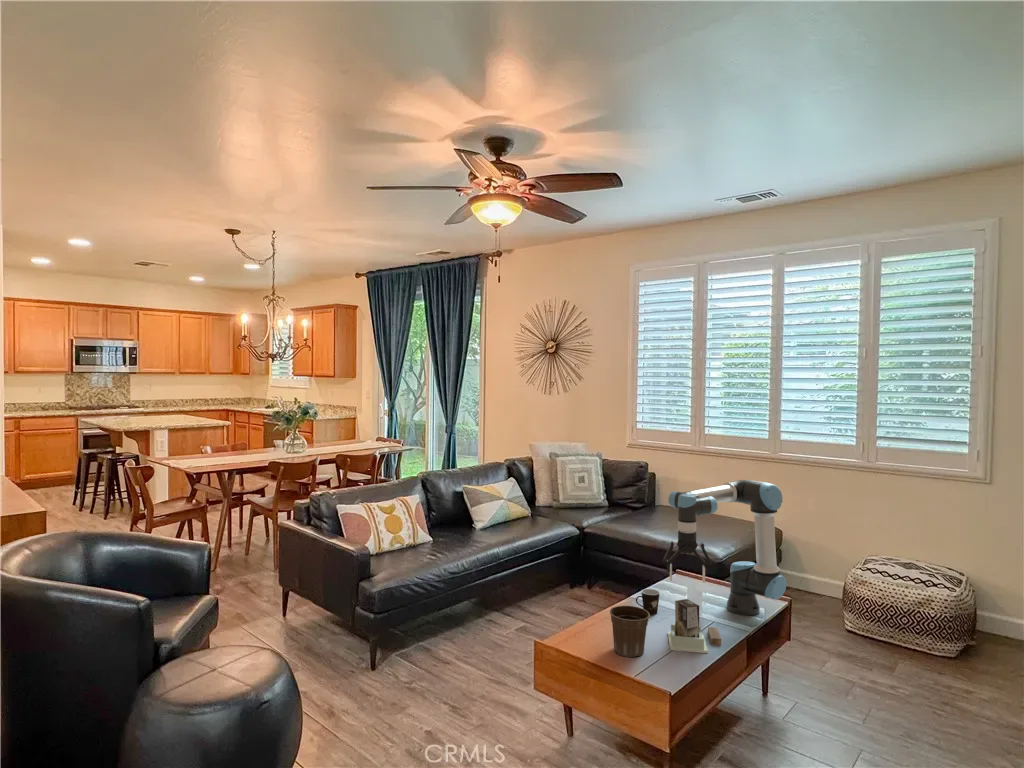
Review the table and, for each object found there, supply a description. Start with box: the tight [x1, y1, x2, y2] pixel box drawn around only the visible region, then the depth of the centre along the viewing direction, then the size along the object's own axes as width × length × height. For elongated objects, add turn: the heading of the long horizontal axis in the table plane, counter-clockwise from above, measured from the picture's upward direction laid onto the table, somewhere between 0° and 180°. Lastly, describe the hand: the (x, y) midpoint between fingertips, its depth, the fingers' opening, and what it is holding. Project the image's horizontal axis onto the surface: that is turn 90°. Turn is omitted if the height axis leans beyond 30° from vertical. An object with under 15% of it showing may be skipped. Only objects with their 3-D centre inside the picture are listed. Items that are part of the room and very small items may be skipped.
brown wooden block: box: [707, 626, 722, 646], centre depth 263 cm, size 4×12×3 cm, turn 168°
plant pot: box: [609, 605, 651, 658], centre depth 251 cm, size 16×16×16 cm
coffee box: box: [674, 598, 700, 638], centre depth 259 cm, size 9×6×16 cm
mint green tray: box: [667, 623, 709, 654], centre depth 259 cm, size 15×17×5 cm
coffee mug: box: [635, 588, 660, 616], centre depth 293 cm, size 12×9×10 cm
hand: (687, 580), depth 259 cm, fingers open, 13 cm apart
